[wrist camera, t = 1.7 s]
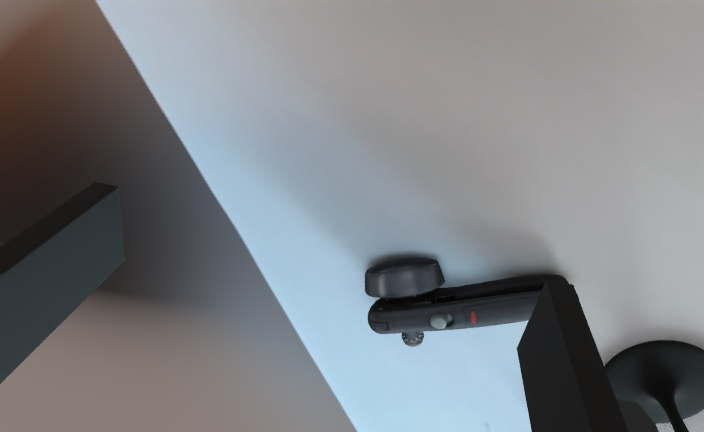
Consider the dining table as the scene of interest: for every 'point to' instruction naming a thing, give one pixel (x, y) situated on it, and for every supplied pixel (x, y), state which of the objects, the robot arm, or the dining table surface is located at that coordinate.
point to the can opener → (444, 299)
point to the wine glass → (661, 380)
